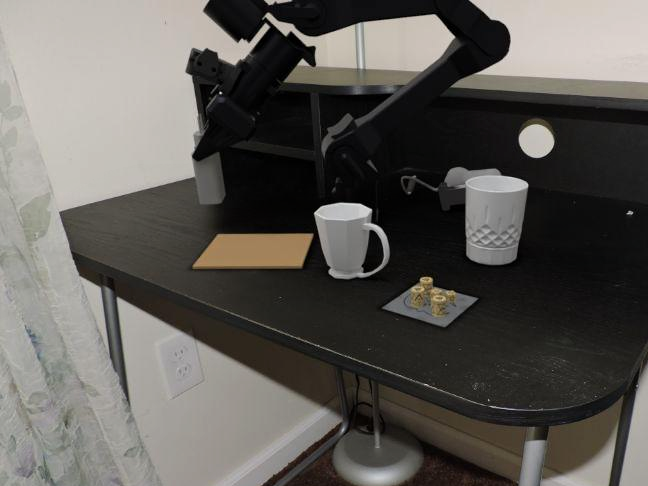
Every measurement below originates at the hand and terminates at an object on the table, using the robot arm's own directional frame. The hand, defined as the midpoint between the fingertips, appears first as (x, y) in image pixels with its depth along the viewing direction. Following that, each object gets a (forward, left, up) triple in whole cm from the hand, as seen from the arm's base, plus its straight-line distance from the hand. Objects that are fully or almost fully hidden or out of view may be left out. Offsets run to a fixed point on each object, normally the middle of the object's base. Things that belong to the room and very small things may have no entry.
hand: (195, 154), depth 81 cm
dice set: (-32, +25, -11) cm, 42 cm away
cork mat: (-9, +9, -11) cm, 17 cm away
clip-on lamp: (-37, -15, -11) cm, 42 cm away
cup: (-23, +17, -11) cm, 31 cm away
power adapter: (-1, 0, -7) cm, 7 cm away
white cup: (-41, +11, -11) cm, 44 cm away
